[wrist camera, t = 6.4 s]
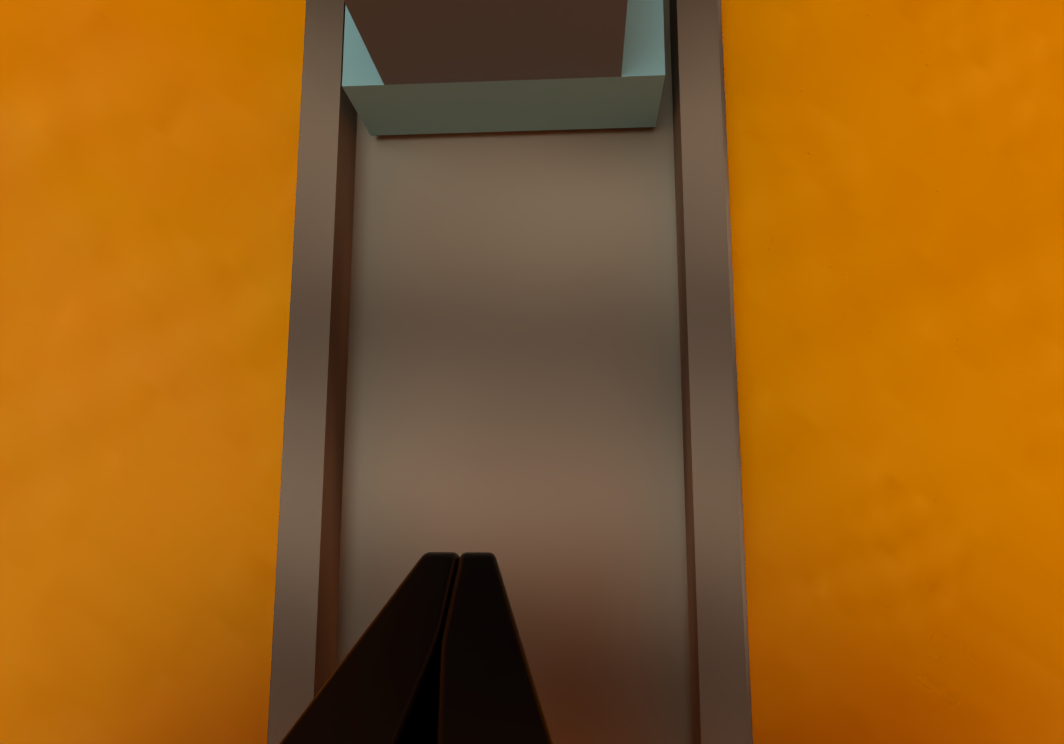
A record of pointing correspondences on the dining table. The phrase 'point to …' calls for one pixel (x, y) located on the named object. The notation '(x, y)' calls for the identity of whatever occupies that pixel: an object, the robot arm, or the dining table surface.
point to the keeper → (503, 64)
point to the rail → (522, 395)
